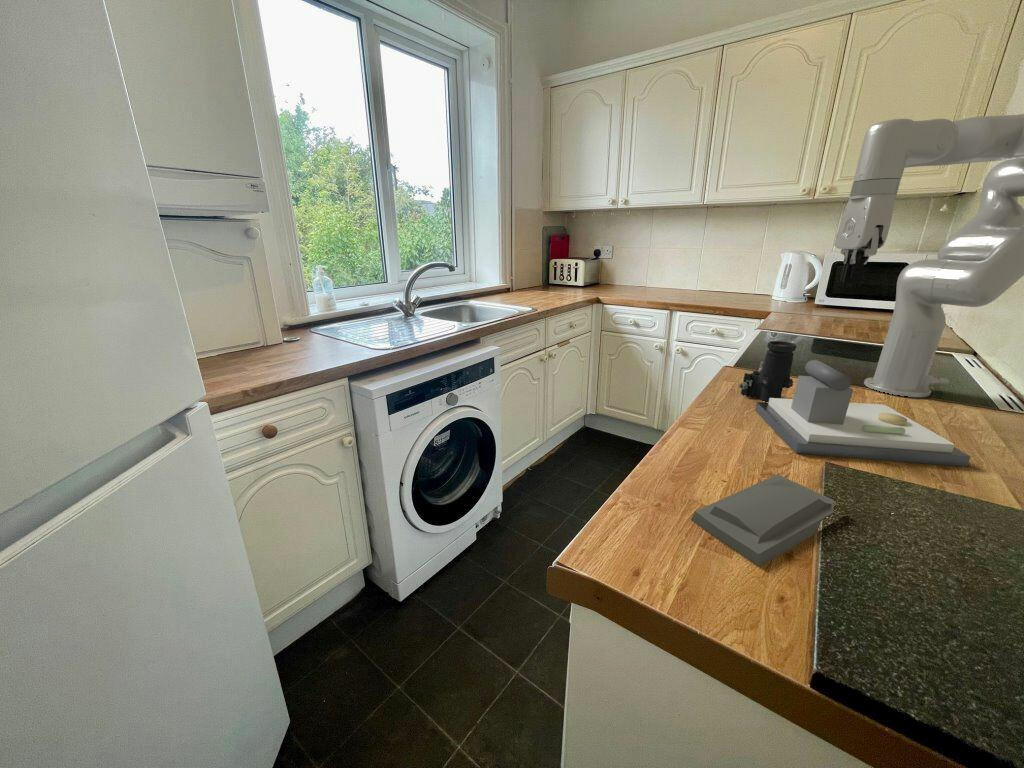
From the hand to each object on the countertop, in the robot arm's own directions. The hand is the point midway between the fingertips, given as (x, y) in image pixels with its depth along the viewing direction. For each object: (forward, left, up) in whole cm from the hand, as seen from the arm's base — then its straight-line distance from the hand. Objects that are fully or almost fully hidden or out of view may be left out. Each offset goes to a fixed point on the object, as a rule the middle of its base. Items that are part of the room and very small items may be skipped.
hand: (849, 282), depth 90 cm
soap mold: (+30, +51, -28) cm, 66 cm away
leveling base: (+5, +21, -27) cm, 35 cm away
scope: (+13, +3, -27) cm, 30 cm away
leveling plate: (+5, +21, -25) cm, 33 cm away
